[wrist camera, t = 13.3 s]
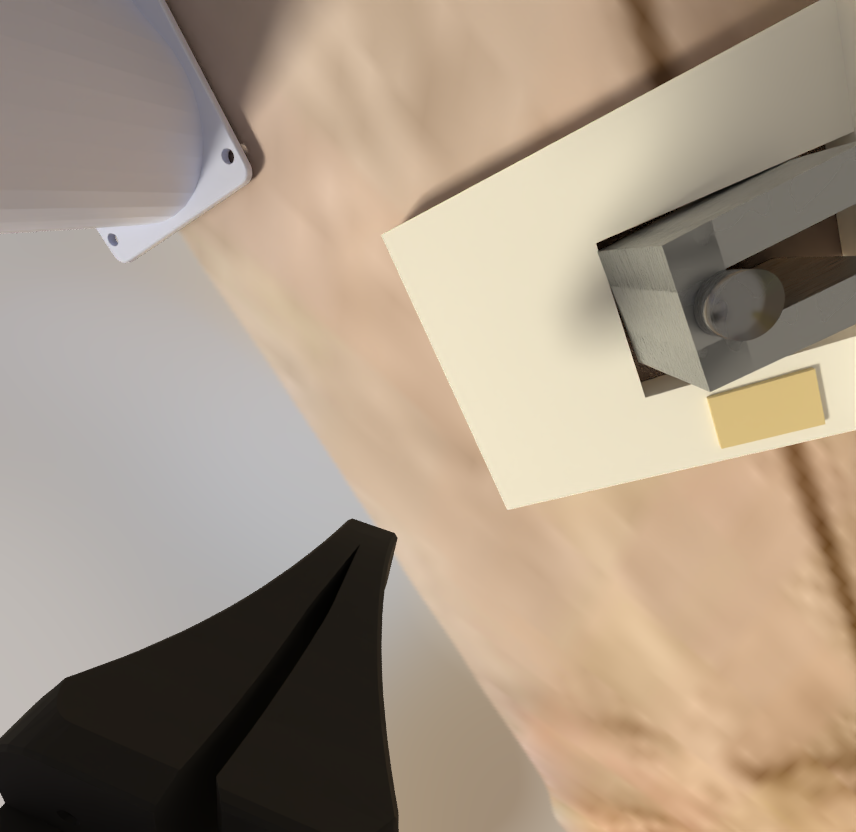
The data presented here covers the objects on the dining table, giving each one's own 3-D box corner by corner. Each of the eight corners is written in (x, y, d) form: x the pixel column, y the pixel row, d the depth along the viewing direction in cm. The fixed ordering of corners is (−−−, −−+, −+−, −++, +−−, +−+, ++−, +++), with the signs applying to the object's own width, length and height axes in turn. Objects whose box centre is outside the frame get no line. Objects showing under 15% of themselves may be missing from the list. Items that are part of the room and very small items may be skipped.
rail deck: (394, 232, 17) (370, 236, 15) (850, -10, 12) (918, -58, 10) (510, 490, 21) (504, 524, 19) (902, 393, 15) (960, 425, 13)
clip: (597, 251, 14) (680, 243, 10) (750, 171, 14) (914, 124, 9) (638, 361, 16) (730, 400, 11) (782, 292, 15) (942, 302, 10)
